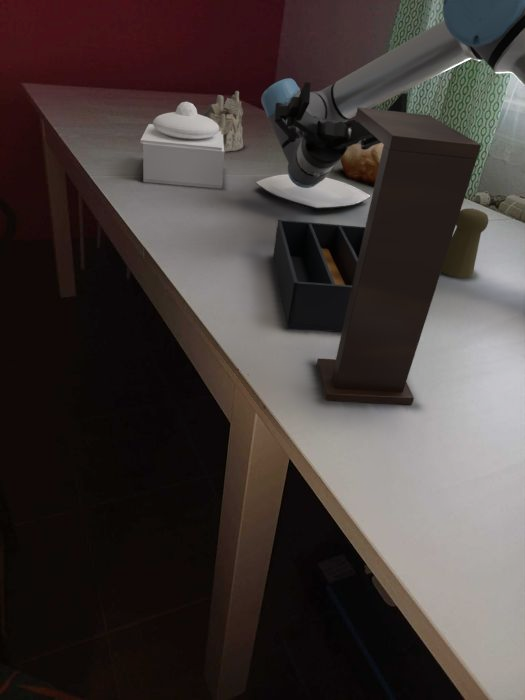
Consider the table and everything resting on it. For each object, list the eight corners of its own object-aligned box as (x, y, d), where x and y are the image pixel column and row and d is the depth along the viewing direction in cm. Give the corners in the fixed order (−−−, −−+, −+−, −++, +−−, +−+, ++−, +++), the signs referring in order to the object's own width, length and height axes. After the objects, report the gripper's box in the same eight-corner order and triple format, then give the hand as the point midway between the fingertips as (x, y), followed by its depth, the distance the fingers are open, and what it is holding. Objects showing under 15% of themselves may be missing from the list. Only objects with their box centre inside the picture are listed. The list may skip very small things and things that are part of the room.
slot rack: (272, 258, 92) (277, 219, 88) (361, 264, 93) (369, 227, 90) (287, 328, 72) (294, 282, 68) (398, 335, 74) (410, 291, 70)
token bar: (311, 258, 91) (313, 247, 90) (325, 259, 91) (328, 248, 90) (335, 318, 74) (338, 305, 73) (352, 318, 74) (355, 306, 73)
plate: (241, 188, 123) (242, 180, 122) (309, 178, 138) (310, 170, 137) (315, 221, 110) (316, 211, 109) (381, 205, 124) (383, 197, 123)
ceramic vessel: (414, 200, 131) (431, 136, 123) (327, 172, 144) (337, 112, 136) (439, 192, 140) (456, 131, 132) (355, 166, 153) (366, 110, 145)
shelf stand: (307, 330, 72) (348, 106, 57) (379, 335, 73) (438, 116, 58) (325, 400, 60) (384, 136, 45) (411, 404, 61) (497, 148, 46)
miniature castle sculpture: (213, 134, 167) (215, 82, 158) (253, 149, 159) (258, 94, 150) (176, 143, 156) (176, 87, 147) (217, 159, 149) (220, 101, 140)
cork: (441, 260, 99) (459, 202, 93) (474, 269, 97) (495, 210, 91) (435, 271, 94) (454, 210, 89) (470, 281, 93) (492, 219, 87)
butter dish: (222, 188, 121) (227, 113, 113) (140, 181, 119) (139, 104, 111) (221, 168, 136) (225, 100, 128) (148, 161, 134) (148, 91, 125)
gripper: (388, 175, 96) (441, 135, 75) (249, 162, 93) (264, 116, 72) (391, 133, 96) (445, 80, 75) (252, 118, 93) (267, 59, 72)
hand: (356, 97), depth 73 cm, fingers open, 13 cm apart
